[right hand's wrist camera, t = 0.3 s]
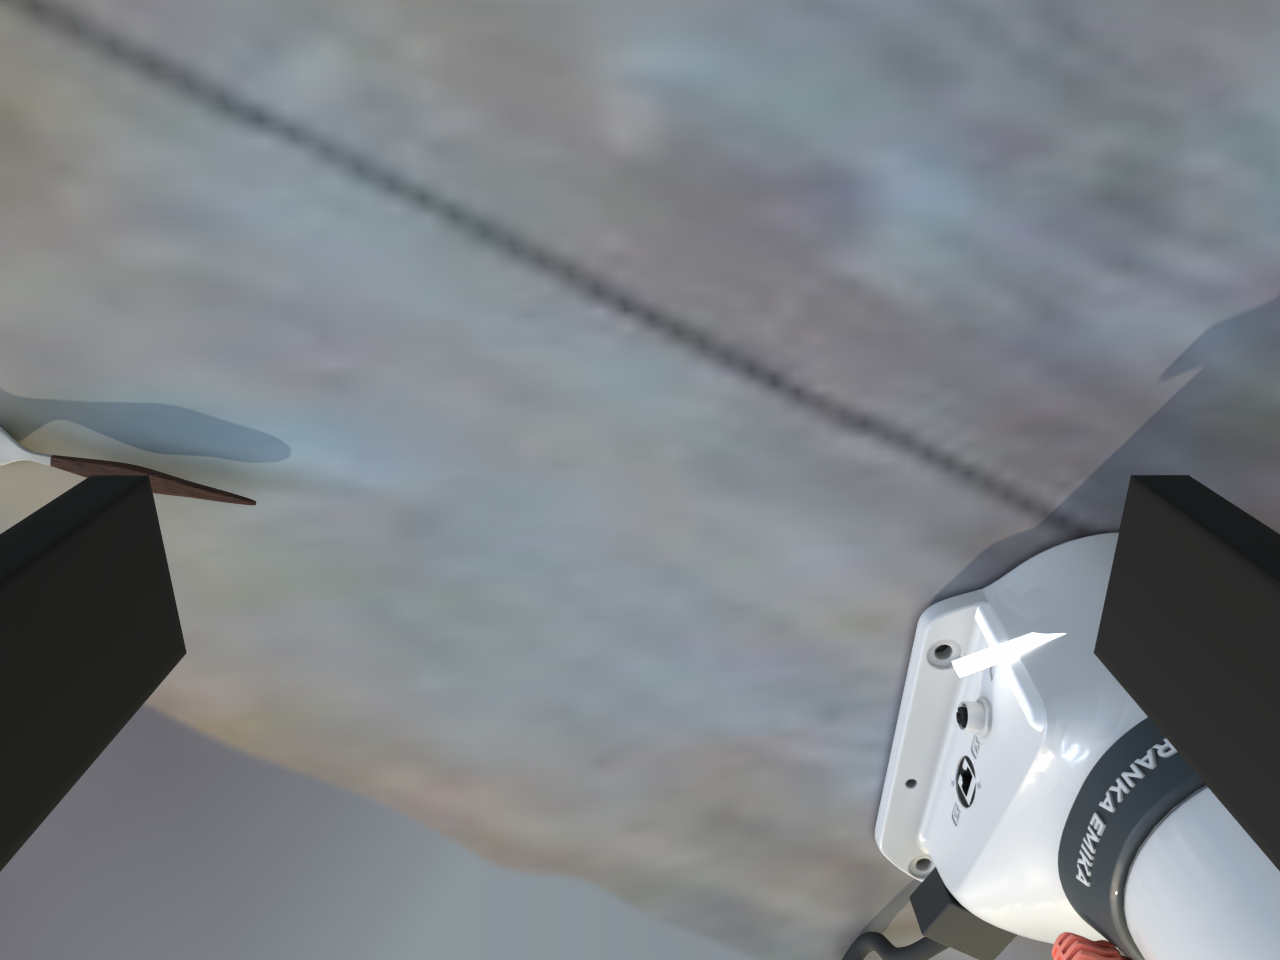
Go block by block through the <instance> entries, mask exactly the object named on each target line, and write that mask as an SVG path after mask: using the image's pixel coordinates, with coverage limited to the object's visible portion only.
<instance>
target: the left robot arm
mask: <svg viewBox="0 0 1280 960" xmlns="http://www.w3.org/2000/svg"><path fill="white" fill-rule="evenodd" d="M1118 535H1119V532H1116V533H1105V534H1097V535H1092V536H1087V537H1083V538H1079V539H1075V540H1072V541H1068V542H1065V543H1062V544H1060V545H1057V546H1055V547H1052V548H1050V549H1048V550H1046V551H1043V552H1041V553H1039V554H1037V555H1036V556H1034V557H1032V558H1030V559H1028V560H1027V561H1025V562H1024V563H1022V564H1020V565H1019V566H1017V567H1016V568H1015V569H1013V570H1012V571H1010V572H1009V573H1007V574H1006V575H1004V576H1003V577H1002V578H1000V579H999V580H997V581H995V582H994V583H992V584H990V585H988V586H987V587H985V588H983V589H980V590H976V591H972V592H968V593H964V594H961V595H957V596H954V597H951V598H948V599H945V600H942V601H940V602H937V603H935V604H933V605H931V606H930V607H929V608H927V609H926V610H925V611H924V612H923V613H922V615H921V617H920V618H919V621H918V625H917V629H916V634H915V639H914V643H913V648H912V653H911V658H910V663H909V668H908V672H907V677H906V682H905V687H904V692H903V696H902V701H901V706H900V711H899V716H898V720H897V725H896V730H895V735H894V740H893V744H892V749H891V754H890V759H889V764H888V769H887V773H886V778H885V783H884V788H883V793H882V797H881V802H880V807H879V812H878V817H877V822H876V827H875V840H876V842H877V844H878V846H879V848H880V851H881V852H882V853H883V854H884V855H885V857H886V858H887V859H889V860H890V861H891V862H892V863H893V864H894V865H895V866H896V867H898V868H899V869H900V870H902V871H904V872H905V873H907V874H908V875H910V876H912V877H913V878H915V879H917V880H919V881H921V882H922V883H921V884H920V885H919V887H918V888H917V889H916V890H915V891H914V893H913V894H912V895H911V896H910V901H911V904H912V906H913V909H914V912H915V915H916V918H917V921H918V924H919V927H920V929H921V932H922V935H923V936H925V937H924V938H922V939H920V940H919V941H917V942H915V943H913V944H911V945H909V946H906V947H901V948H896V947H895V946H893V945H892V944H891V943H890V942H889V941H888V940H887V938H886V937H884V936H883V935H882V934H880V933H877V932H866V933H864V934H862V935H861V936H860V937H859V938H857V940H856V941H855V942H854V943H853V944H852V945H851V947H850V948H849V950H848V951H847V953H846V954H845V956H844V957H843V959H842V960H863V959H864V958H865V956H866V955H867V954H868V953H869V952H871V951H873V950H874V951H876V952H877V953H878V954H879V955H880V956H881V958H882V959H883V960H928V959H930V958H931V957H933V956H935V955H936V954H938V953H940V952H941V951H943V950H945V949H947V948H949V947H951V948H953V949H955V950H958V951H960V952H962V953H965V954H967V955H969V956H972V957H974V958H976V959H978V960H995V959H996V957H997V956H998V955H999V954H1000V953H1001V952H1002V951H1003V950H1004V949H1005V948H1006V947H1007V946H1008V944H1009V943H1010V942H1011V941H1012V940H1013V939H1014V938H1015V937H1016V936H1017V935H1021V936H1024V937H1027V938H1031V939H1035V940H1039V941H1043V942H1048V943H1052V944H1054V946H1053V951H1052V957H1054V960H1280V871H1279V870H1278V869H1277V868H1276V867H1275V865H1274V864H1273V863H1272V862H1271V861H1270V860H1269V858H1268V857H1267V856H1266V855H1265V854H1264V853H1263V851H1262V850H1261V849H1260V848H1259V847H1258V845H1257V844H1256V843H1255V842H1254V841H1253V840H1252V838H1251V837H1250V836H1249V835H1248V834H1247V833H1246V831H1245V830H1244V829H1243V828H1242V827H1241V826H1240V824H1239V823H1238V822H1237V821H1236V820H1235V818H1234V817H1233V816H1232V815H1231V814H1230V813H1229V811H1228V810H1227V809H1226V808H1225V807H1224V806H1223V804H1222V803H1221V802H1220V801H1219V800H1218V799H1217V797H1216V796H1215V795H1214V794H1213V793H1212V791H1211V790H1210V789H1209V788H1208V787H1207V786H1206V784H1205V783H1204V782H1203V781H1202V780H1201V779H1200V777H1199V776H1198V775H1197V774H1196V773H1195V772H1194V770H1193V769H1192V768H1191V767H1190V766H1189V764H1188V763H1187V762H1186V761H1185V760H1184V759H1183V757H1182V756H1181V755H1180V754H1179V753H1178V752H1177V750H1176V749H1175V748H1174V747H1173V746H1172V745H1171V743H1170V742H1169V741H1168V740H1167V739H1166V737H1165V736H1164V735H1163V734H1162V733H1161V732H1160V730H1159V729H1158V728H1157V727H1156V726H1155V725H1154V723H1153V722H1152V721H1151V720H1150V719H1149V718H1148V716H1147V715H1146V714H1145V713H1144V712H1143V710H1142V709H1141V708H1140V707H1139V706H1138V705H1137V703H1136V702H1135V701H1134V700H1133V699H1132V698H1131V696H1130V695H1129V694H1128V693H1127V692H1126V691H1125V689H1124V688H1123V687H1122V686H1121V685H1120V683H1119V682H1118V681H1117V680H1116V679H1115V678H1114V676H1113V675H1112V674H1111V673H1110V672H1109V671H1108V669H1107V668H1106V667H1105V666H1104V665H1103V664H1102V662H1101V661H1100V660H1099V659H1098V658H1097V656H1096V655H1095V654H1094V649H1095V644H1096V639H1097V634H1098V630H1099V625H1100V620H1101V616H1102V611H1103V606H1104V601H1105V597H1106V592H1107V587H1108V582H1109V578H1110V573H1111V568H1112V564H1113V559H1114V554H1115V549H1116V545H1117V540H1118ZM940 645H948V646H947V647H946V649H945V650H943V651H941V652H935V650H936V648H937V647H938V646H940ZM923 858H925V859H924V860H920V859H923ZM918 860H920V861H918ZM1117 949H1119V950H1121V951H1122V952H1123V953H1124V955H1125V956H1121V955H1120V953H1119V951H1118V950H1117Z"/></svg>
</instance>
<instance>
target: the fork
mask: <svg viewBox="0 0 1280 960" xmlns="http://www.w3.org/2000/svg"><path fill="white" fill-rule="evenodd" d="M20 460H29V461H35V462H39V463H42V464H46V465H49V466H52V467H56V468H59V469H62V470H65V471H68V472H71V473H74V474H77V475H80V476H83V477H86V478H88V477H90V476H91V475H149V478H150V483H151V488H152V493H157V494H165V495H174V496H183V497H191V498H198V499H205V500H213V501H220V502H227V503H235V504H244V505H256V501H254V500H251V499H249V498H246V497H242V496H239V495H236V494H233V493H229V492H226V491H222V490H219V489H215V488H211V487H208V486H204V485H201V484H197V483H194V482H190V481H187V480H184V479H180V478H177V477H174V476H171V475H168V474H164V473H161V472H158V471H155V470H151V469H148V468H144V467H140V466H136V465H131V464H126V463H120V462H112V461H104V460H95V459H85V458H76V457H66V456H57V455H48V454H42V453H37V452H33V451H30V450H28V449H26V448H25V447H23V446H22V445H21V444H19V443H18V442H17V441H16V440H15V439H14V438H13V437H12V436H10V435H9V434H8V433H7V432H6V431H5V430H4V429H3V428H2V427H1V426H0V466H1V465H5V464H8V463H12V462H15V461H20Z"/></svg>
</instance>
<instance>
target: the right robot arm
mask: <svg viewBox="0 0 1280 960" xmlns="http://www.w3.org/2000/svg"><path fill="white" fill-rule="evenodd" d="M185 654H186V649H185V644H184V639H183V634H182V630H181V625H180V620H179V616H178V611H177V606H176V601H175V597H174V592H173V587H172V582H171V578H170V573H169V568H168V564H167V559H166V554H165V549H164V545H163V540H162V535H161V530H160V526H159V521H158V516H157V512H156V507H155V502H154V497H153V493H152V488H151V483H150V478H149V475H91V476H90V477H88V478H87V479H85V480H84V481H82V482H81V483H79V484H77V485H76V486H74V487H73V488H71V489H70V490H68V491H67V492H65V493H64V494H62V495H60V496H59V497H57V498H56V499H54V500H53V501H51V502H50V503H48V504H47V505H45V506H43V507H42V508H40V509H39V510H37V511H36V512H34V513H33V514H31V515H30V516H28V517H26V518H25V519H23V520H22V521H20V522H19V523H17V524H16V525H14V526H13V527H11V528H9V529H8V530H6V531H5V532H3V533H2V534H0V871H1V870H2V869H3V868H4V867H5V865H6V864H7V863H8V862H9V861H10V860H11V858H12V857H13V856H14V855H15V854H16V853H17V851H18V850H19V849H20V848H21V847H22V845H23V844H24V843H25V842H26V841H27V839H28V838H29V837H30V836H31V835H32V834H33V833H34V831H35V830H36V829H37V828H38V827H39V825H40V824H41V823H42V822H43V821H44V820H45V818H46V817H47V816H48V815H49V814H50V813H51V811H52V810H53V809H54V808H55V807H56V806H57V804H58V803H59V802H60V801H61V800H62V799H63V797H64V796H65V795H66V794H67V793H68V791H69V790H70V789H71V788H72V787H73V786H74V784H75V783H76V782H77V781H78V780H79V779H80V777H81V776H82V775H83V774H84V773H85V771H86V770H87V769H88V768H89V767H90V766H91V764H92V763H93V762H94V761H95V760H96V759H97V757H98V756H99V755H100V754H101V753H102V752H103V750H104V749H105V748H106V747H107V746H108V745H109V743H110V742H111V741H112V740H113V739H114V737H115V736H116V735H117V734H118V733H119V732H120V730H121V729H122V728H123V727H124V726H125V725H126V723H127V722H128V721H129V720H130V719H131V717H132V716H133V715H134V714H135V713H136V712H137V710H138V709H139V708H140V707H141V706H142V705H143V703H144V702H145V701H146V700H147V699H148V698H149V696H150V695H151V694H152V693H153V692H154V691H155V689H156V688H157V687H158V686H159V685H160V683H161V682H162V681H163V680H164V679H165V678H166V676H167V675H168V674H169V673H170V672H171V671H172V669H173V668H174V667H175V666H176V665H177V664H178V662H179V661H180V660H181V659H182V658H183V656H184V655H185ZM1094 654H1095V655H1096V656H1097V658H1098V659H1099V660H1100V661H1101V662H1102V664H1103V665H1104V666H1105V667H1106V668H1107V669H1108V671H1109V672H1110V673H1111V674H1112V675H1113V676H1114V678H1115V679H1116V680H1117V681H1118V682H1119V683H1120V685H1121V686H1122V687H1123V688H1124V689H1125V691H1126V692H1127V693H1128V694H1129V695H1130V696H1131V698H1132V699H1133V700H1134V701H1135V702H1136V703H1137V705H1138V706H1139V707H1140V708H1141V709H1142V710H1143V712H1144V713H1145V714H1146V715H1147V716H1148V718H1149V719H1150V720H1151V721H1152V722H1153V723H1154V725H1155V726H1156V727H1157V728H1158V729H1159V730H1160V732H1161V733H1162V734H1163V735H1164V736H1165V737H1166V739H1167V740H1168V741H1169V742H1170V743H1171V745H1172V746H1173V747H1174V748H1175V749H1176V750H1177V752H1178V753H1179V754H1180V755H1181V756H1182V757H1183V759H1184V760H1185V761H1186V762H1187V763H1188V764H1189V766H1190V767H1191V768H1192V769H1193V770H1194V772H1195V773H1196V774H1197V775H1198V776H1199V777H1200V779H1201V780H1202V781H1203V782H1204V783H1205V784H1206V786H1207V787H1208V788H1209V789H1210V790H1211V791H1212V793H1213V794H1214V795H1215V796H1216V797H1217V799H1218V800H1219V801H1220V802H1221V803H1222V804H1223V806H1224V807H1225V808H1226V809H1227V810H1228V811H1229V813H1230V814H1231V815H1232V816H1233V817H1234V818H1235V820H1236V821H1237V822H1238V823H1239V824H1240V826H1241V827H1242V828H1243V829H1244V830H1245V831H1246V833H1247V834H1248V835H1249V836H1250V837H1251V838H1252V840H1253V841H1254V842H1255V843H1256V844H1257V845H1258V847H1259V848H1260V849H1261V850H1262V851H1263V853H1264V854H1265V855H1266V856H1267V857H1268V858H1269V860H1270V861H1271V862H1272V863H1273V864H1274V865H1275V867H1276V868H1277V869H1278V870H1279V871H1280V534H1278V533H1277V532H1275V531H1274V530H1272V529H1271V528H1269V527H1267V526H1266V525H1264V524H1263V523H1261V522H1260V521H1258V520H1257V519H1255V518H1254V517H1252V516H1250V515H1249V514H1247V513H1246V512H1244V511H1243V510H1241V509H1240V508H1238V507H1237V506H1235V505H1233V504H1232V503H1230V502H1229V501H1227V500H1226V499H1224V498H1223V497H1221V496H1220V495H1218V494H1216V493H1215V492H1213V491H1212V490H1210V489H1209V488H1207V487H1206V486H1204V485H1203V484H1201V483H1199V482H1198V481H1196V480H1195V479H1193V478H1192V477H1190V476H1189V475H1131V478H1130V483H1129V488H1128V493H1127V497H1126V502H1125V507H1124V512H1123V516H1122V521H1121V526H1120V530H1119V535H1118V540H1117V545H1116V549H1115V554H1114V559H1113V564H1112V568H1111V573H1110V578H1109V582H1108V587H1107V592H1106V597H1105V601H1104V606H1103V611H1102V616H1101V620H1100V625H1099V630H1098V634H1097V639H1096V644H1095V649H1094Z"/></svg>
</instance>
